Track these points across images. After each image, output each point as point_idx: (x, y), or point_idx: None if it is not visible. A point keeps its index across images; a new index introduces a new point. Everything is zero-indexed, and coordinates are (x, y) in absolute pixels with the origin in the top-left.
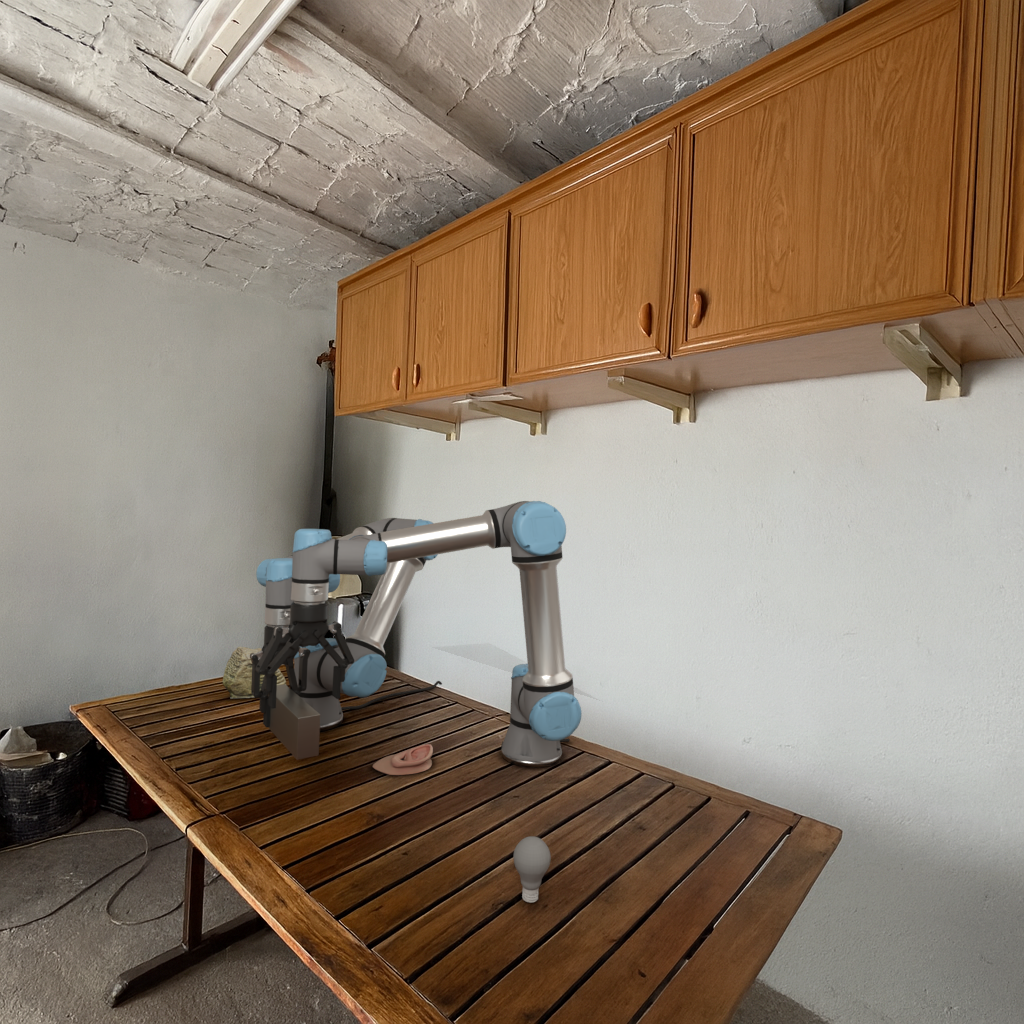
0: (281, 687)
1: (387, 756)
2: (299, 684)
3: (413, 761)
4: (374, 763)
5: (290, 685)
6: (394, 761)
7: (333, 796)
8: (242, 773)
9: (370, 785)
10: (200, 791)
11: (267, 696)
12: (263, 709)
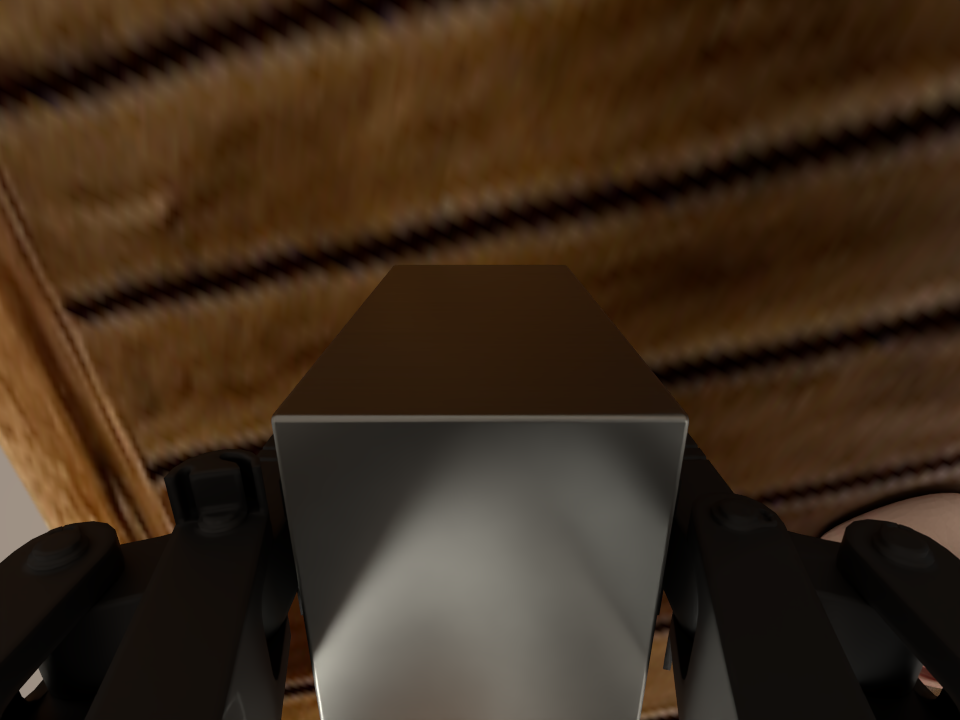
0: (542, 578)
1: (922, 531)
2: (883, 603)
3: None
4: (837, 537)
5: (698, 643)
6: None
7: None
8: (308, 324)
9: None
10: (127, 413)
11: (288, 642)
12: None
